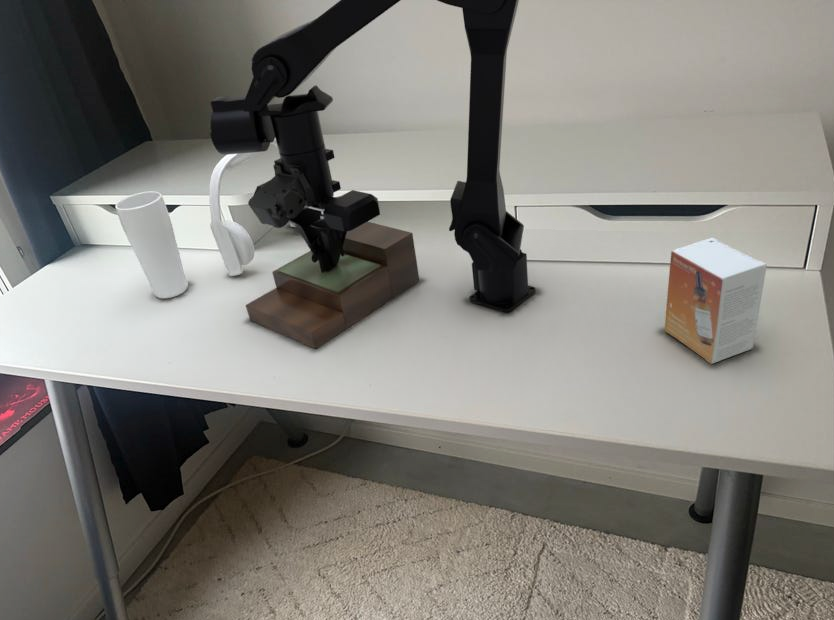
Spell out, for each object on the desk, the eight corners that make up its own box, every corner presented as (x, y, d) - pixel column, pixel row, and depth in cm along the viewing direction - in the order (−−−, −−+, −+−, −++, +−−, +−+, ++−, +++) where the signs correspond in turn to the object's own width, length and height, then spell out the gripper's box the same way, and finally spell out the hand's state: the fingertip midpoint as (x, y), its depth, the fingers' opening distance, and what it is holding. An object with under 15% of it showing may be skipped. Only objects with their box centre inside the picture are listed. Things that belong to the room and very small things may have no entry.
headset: (248, 283, 109) (214, 170, 99) (215, 277, 113) (179, 167, 103) (325, 228, 123) (302, 123, 113) (293, 224, 126) (268, 122, 116)
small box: (663, 331, 83) (668, 249, 77) (703, 317, 84) (712, 235, 78) (711, 365, 76) (722, 278, 71) (754, 349, 78) (768, 262, 72)
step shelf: (419, 281, 102) (412, 232, 98) (315, 349, 91) (302, 298, 87) (352, 260, 111) (343, 215, 106) (249, 320, 100) (235, 272, 95)
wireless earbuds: (321, 281, 95) (312, 246, 92) (306, 278, 96) (297, 244, 93) (349, 257, 100) (342, 223, 97) (334, 255, 101) (327, 222, 98)
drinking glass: (141, 302, 109) (104, 210, 101) (163, 281, 114) (130, 191, 106) (180, 302, 107) (146, 208, 99) (201, 280, 113) (170, 189, 104)
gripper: (206, 160, 90) (240, 271, 99) (300, 181, 78) (329, 304, 87) (274, 132, 96) (300, 238, 105) (371, 147, 84) (392, 265, 93)
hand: (327, 260), depth 97 cm, fingers closed on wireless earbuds, 3 cm apart
